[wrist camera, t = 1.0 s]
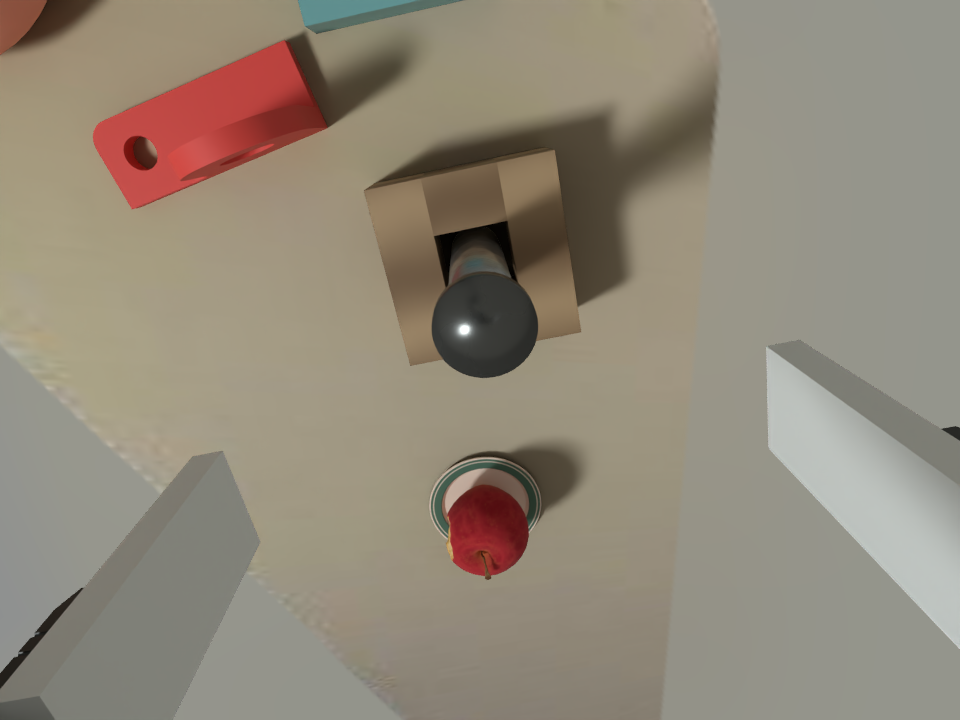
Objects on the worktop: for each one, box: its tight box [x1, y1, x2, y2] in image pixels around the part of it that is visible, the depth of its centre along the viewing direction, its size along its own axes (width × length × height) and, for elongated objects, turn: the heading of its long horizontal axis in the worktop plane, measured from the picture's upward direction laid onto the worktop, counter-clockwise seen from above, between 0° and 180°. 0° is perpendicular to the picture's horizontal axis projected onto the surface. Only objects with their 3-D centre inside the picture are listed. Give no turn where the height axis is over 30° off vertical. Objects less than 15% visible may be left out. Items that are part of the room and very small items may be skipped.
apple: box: [429, 457, 541, 580], centre depth 40 cm, size 8×8×6 cm
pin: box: [431, 226, 538, 378], centre depth 29 cm, size 4×4×15 cm
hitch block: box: [364, 147, 581, 366], centre depth 34 cm, size 10×10×4 cm
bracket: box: [93, 40, 328, 209], centre depth 29 cm, size 12×4×8 cm, turn 111°
